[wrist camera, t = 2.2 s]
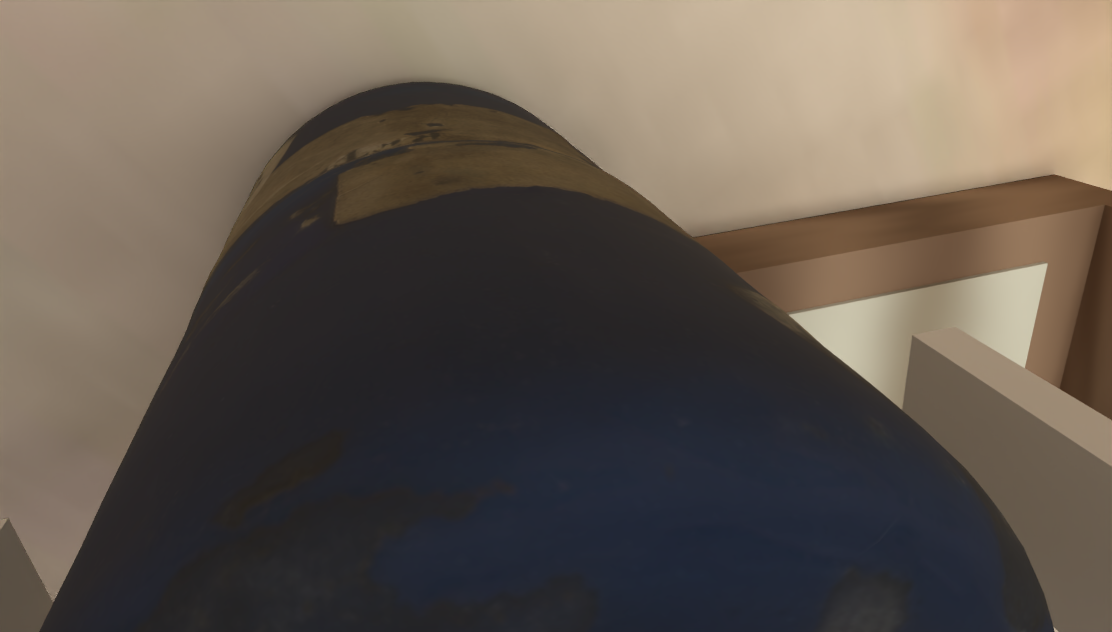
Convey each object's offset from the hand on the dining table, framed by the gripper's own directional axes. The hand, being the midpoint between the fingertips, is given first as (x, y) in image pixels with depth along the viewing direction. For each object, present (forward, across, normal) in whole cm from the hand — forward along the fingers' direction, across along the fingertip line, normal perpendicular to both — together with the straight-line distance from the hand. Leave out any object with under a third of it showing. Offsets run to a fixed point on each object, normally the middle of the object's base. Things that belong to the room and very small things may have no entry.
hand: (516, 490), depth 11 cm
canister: (+11, 0, 0) cm, 11 cm away
